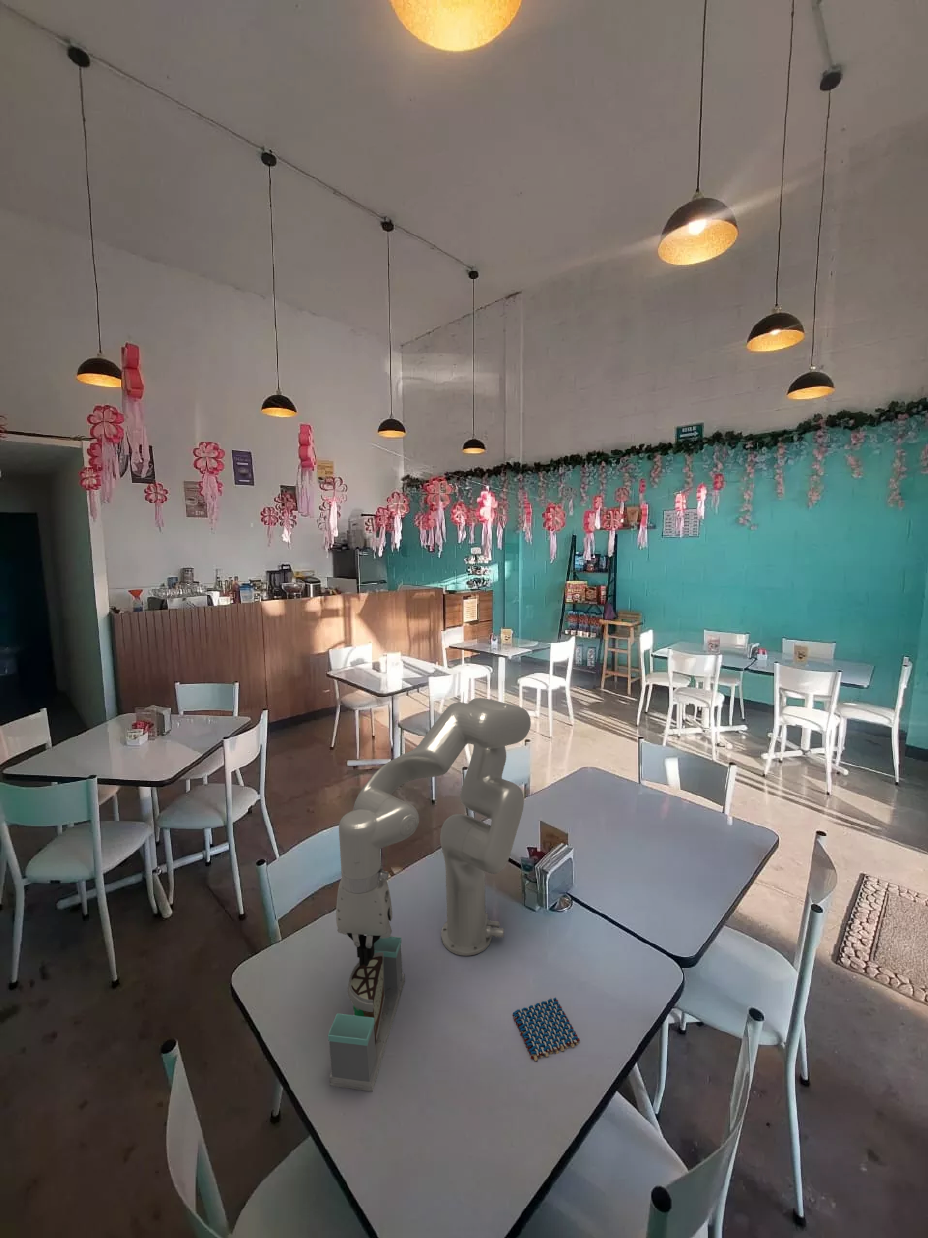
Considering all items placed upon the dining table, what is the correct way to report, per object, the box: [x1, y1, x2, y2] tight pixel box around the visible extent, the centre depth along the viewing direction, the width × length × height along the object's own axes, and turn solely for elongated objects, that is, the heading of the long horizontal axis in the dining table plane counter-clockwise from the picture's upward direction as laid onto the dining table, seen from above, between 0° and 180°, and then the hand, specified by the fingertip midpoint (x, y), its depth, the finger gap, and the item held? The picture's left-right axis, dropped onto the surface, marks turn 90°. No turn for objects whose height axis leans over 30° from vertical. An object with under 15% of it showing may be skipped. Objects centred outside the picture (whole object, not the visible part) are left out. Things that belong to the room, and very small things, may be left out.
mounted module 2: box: [374, 936, 403, 989], centre depth 111 cm, size 7×4×9 cm, turn 82°
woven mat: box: [512, 997, 581, 1062], centre depth 102 cm, size 10×11×2 cm
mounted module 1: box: [327, 1013, 376, 1082], centre depth 93 cm, size 7×4×9 cm, turn 82°
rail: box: [329, 972, 406, 1093], centre depth 103 cm, size 8×23×2 cm, turn 172°
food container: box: [347, 952, 385, 1040], centre depth 103 cm, size 12×6×10 cm, turn 179°
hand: (366, 960), depth 100 cm, fingers closed
